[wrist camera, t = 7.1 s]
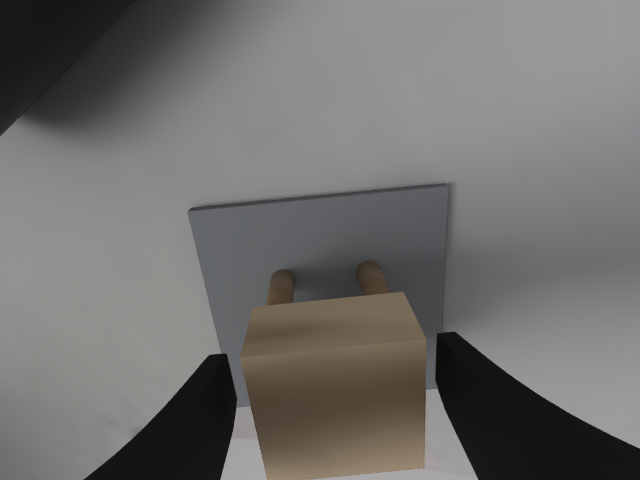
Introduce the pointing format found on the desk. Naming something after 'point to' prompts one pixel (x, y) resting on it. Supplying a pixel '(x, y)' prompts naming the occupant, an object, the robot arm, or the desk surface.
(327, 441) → the stool
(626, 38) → the desk surface
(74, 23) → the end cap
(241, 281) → the mat
